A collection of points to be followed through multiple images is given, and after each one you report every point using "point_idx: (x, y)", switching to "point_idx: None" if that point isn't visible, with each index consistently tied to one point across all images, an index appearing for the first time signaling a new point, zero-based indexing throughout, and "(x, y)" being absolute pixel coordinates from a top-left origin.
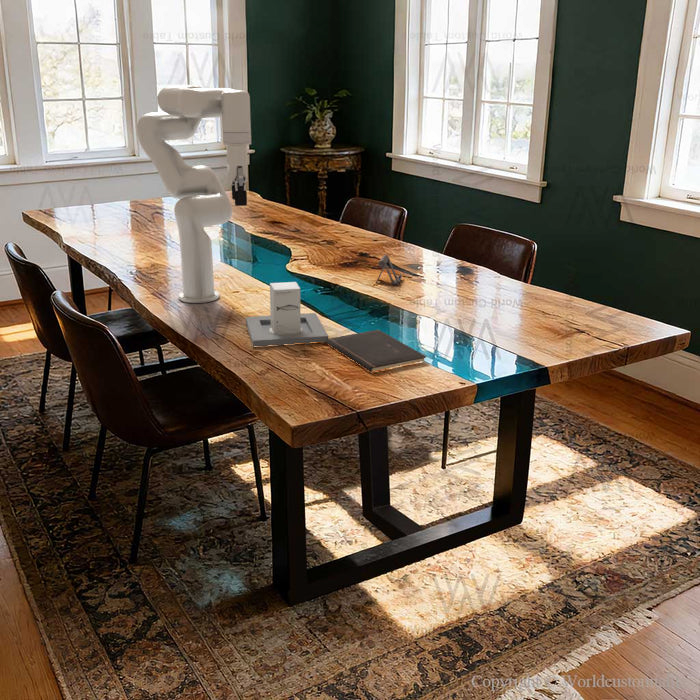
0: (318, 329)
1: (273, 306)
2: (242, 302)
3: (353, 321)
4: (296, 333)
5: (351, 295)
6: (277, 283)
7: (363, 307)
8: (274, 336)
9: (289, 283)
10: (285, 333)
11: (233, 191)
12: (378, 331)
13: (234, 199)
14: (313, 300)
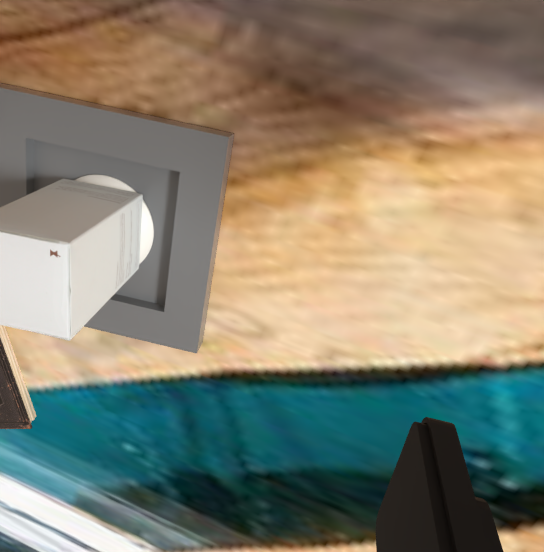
0: None
1: (22, 204)
2: (486, 199)
3: (157, 417)
4: None
5: None
6: (50, 268)
7: (262, 487)
8: (10, 163)
9: (43, 309)
10: None
11: (424, 516)
12: (16, 422)
13: (415, 433)
14: (387, 410)
